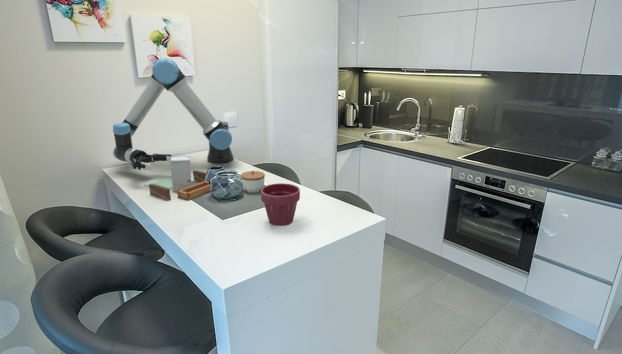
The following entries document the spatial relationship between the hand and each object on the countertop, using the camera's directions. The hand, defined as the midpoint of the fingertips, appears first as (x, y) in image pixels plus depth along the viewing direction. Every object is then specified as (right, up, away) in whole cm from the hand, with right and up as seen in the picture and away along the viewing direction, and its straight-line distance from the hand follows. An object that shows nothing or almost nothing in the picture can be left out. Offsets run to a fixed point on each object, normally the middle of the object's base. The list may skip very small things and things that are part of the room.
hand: (163, 164), depth 164 cm
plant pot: (+58, -23, -32) cm, 70 cm away
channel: (+10, -12, -2) cm, 15 cm away
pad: (0, -9, +4) cm, 10 cm away
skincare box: (+10, -12, -2) cm, 16 cm away
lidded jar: (+43, -12, -2) cm, 45 cm away
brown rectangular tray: (+18, -13, -7) cm, 24 cm away
